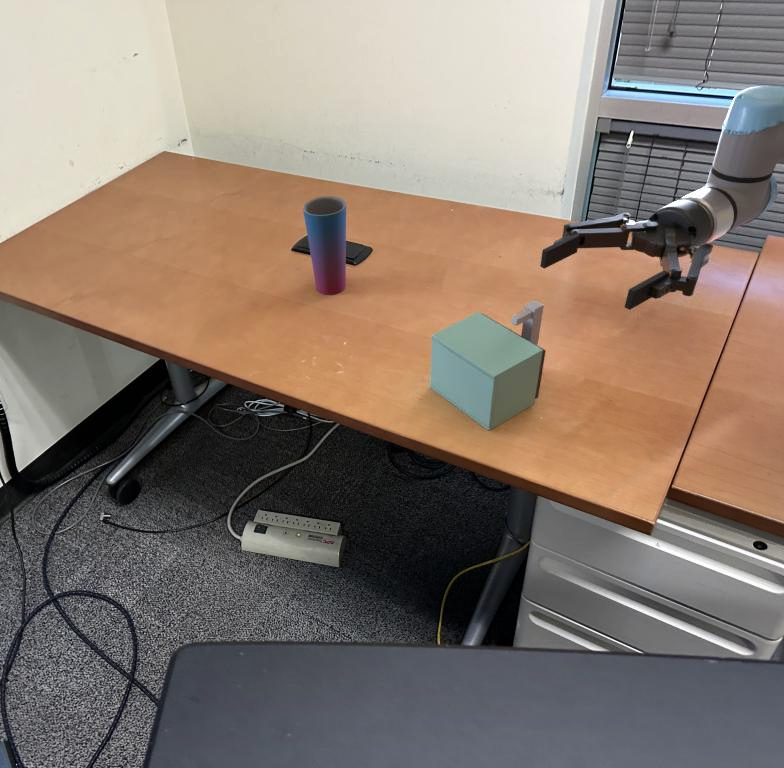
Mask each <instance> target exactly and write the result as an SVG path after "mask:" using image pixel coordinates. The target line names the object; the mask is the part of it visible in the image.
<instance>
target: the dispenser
mask: <svg viewBox="0 0 784 768" xmlns="http://www.w3.org/2000/svg"><path fill="white" fill-rule="evenodd" d="M483 314H484V313H483ZM483 314H481V312H479V311H477V312H474V313H473V314H470V315H469V316H467V317H464V318H462V319H461V320H458V321H457V322H454V323H453V324H451V325H449V326H447V327H445V328H443V329H441V330H439V331H437V332H435V333H433V334H431V353H430V355H431V356H430V358H431V359H430V384H429V386H430V387H429V388H430V389H432V390H433V391H434V392H436V393H437V394H438V395H440V396H441V397H442V398H444V399H445V400H446V401H448V402H449V403H450V404H452V405H453V406H455V407H456V408H457V409H458V410H460V411H461V412H462V413H464V414H465V415H467V417H469V418H471V420H473V421H475V422H476V423H478V424H479V425H480V426H481V427H482V428H484V429H486V431H491V430H493V429H494V428H496V427H498V426H499V425H502V424H503V423H504V422H506V421H508V420H510V419H512V418H513V417H515V416H517V415H518V414H520V413H522V412H523V411H525V410H527V409H528V408H530V407H533V406H534V405H535V401H536V399H535V395H536V389H537V383H538V377H539V370H540V364H541V358H542V352H543V350H542V349H543V348H542V347H541V348H542V349H541V348H539V347H540V346H539V347H537V346H535V345H534V344H532V343H530V342H529V341H527V340H525V339H524V338H522V337H520V336H521V335H520V336H518V335H517V334H518V333H517V334H515V333H516V332H515V333H513V332H514V331H513V330H512V331H513V332H512V331H510V330H511V329H510V330H508V329H509V328H508V329H506V328H505V327H506V326H505V327H503V326H504V325H503V326H501V325H502V324H501V323H500V324H501V325H500V324H498V323H499V322H498V323H496V322H497V321H496V320H495V321H496V322H495V321H493V320H494V319H493V320H491V319H492V318H491V319H489V318H488V317H489V316H488V317H486V316H487V315H486V316H484V315H485V314H484V315H483Z"/></svg>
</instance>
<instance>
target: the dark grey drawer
mask: <svg viewBox="0 0 784 768" xmlns="http://www.w3.org/2000/svg"><path fill="white" fill-rule="evenodd" d="M544 306H545V305H544V304H543V303H542V302H539V301H537V300H536V299H533V300H531V301H529V302H527V303H525V304H524V309H523V310H521V311H520V312H518V313H515V314H513V315H512V316H511V317H510V324H513V325H514V326H516V327H517V326H519V325H521V324H522V328H521V335H520V334H518V333H517V332H515V331H513V330H512V329H510V328H508V327H507V326H505V325H503V324H502V323H500V322H498V321H496V320H495V319H493V318H491V317H490V316H489V315H486V314H484V313H481V312H480V313H481V314H483V315H484V316H486V317H488V318H489V319H491V320H493V321H495V322H496V323H498V324H500V325H501V326H503V327H505V328H506V329H508V330H510V331H512V332H513V333H515V334H517V335H518V336H520V337H522V338H524V339H525V340H527V341H529V342H530V343H532V344H534V345H535V346H537V347H539V348H541V349H542V350H543V352H542V358H541V364H540V370H539V377H538V383H537V389H536V395H535V400H536V399H538V398H539V394H540V388H541V381H542V375H543V369H544V363H545V357H546V352H547V350H546V349H544V348H543V347H541V346H539V345H538V344H539V339H540V332H541V325H542V318H543V315H544Z"/></svg>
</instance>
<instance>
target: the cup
mask: <svg viewBox="0 0 784 768" xmlns="http://www.w3.org/2000/svg"><path fill="white" fill-rule="evenodd" d="M302 211H303V217H304V224H305V230H306V236H307V240H308V241H307V242H308V248H309V253H310V259H311V264H312V271H313V276H314V283H315V289H316V291H317V292H318V293H319V294H322V295H327V296H328V295H331V296H332V295H336V294H339V293H342V292H343V291H344V290H345V289H346V283H347V282H346V280H347V278H346V277H347V274H346V273H347V270H346V269H347V202H346V200H344V199H343V198H341V197H338V196H333V195H325V196H324V195H323V196H318V197H315V198H312V199H309V200H308V201H306V202H305V203H304V204H303V207H302Z"/></svg>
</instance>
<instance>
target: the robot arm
mask: <svg viewBox="0 0 784 768" xmlns="http://www.w3.org/2000/svg"><path fill="white" fill-rule="evenodd" d="M721 128H722V129H721V133H720V135H719V140H718V143H717V147H716V150H715V153H714V154H715V155H714V157H713V162H712V165H711V168H710V170H709V174H708V177H707V180H706V184H705V185H704V186H702V187H701V188H699V189H697V190H695V191H693V192H690V193H689V194H686V195H685V196H683V197H680V198H679V199H676V200H675V201H673V202H671V203H669V204H667V205H665V206H663V207H661V208H659V209H657V210H656V211H655V212H654V213H653V214H652V215H651V216H650V217H649V218H648V219H647V220H643V221H642V220H641V221H637V222H635V221H634V220H631V214H630V213H629V212H622V213H620V214H617V215H615V216H609V217H602V218H596V219H591V220H590V219H589V220H582V221H576V222H569V223H565V224H563V229H562V236H561V237H560V238H559V239H557V240H555V241H554V242H553V244H551V245H549V246H547V247H545V248H543V249H542V250H541V252H542V253H541V259H540V266H539V267H540V268H542V269H544V270H545V269H548V267H551V266H553V265H555V264H556V263H559V262H561V261H563V260H564V259H567V258H568V257H569V258H570V257H571V256H572V255H575V254H577V253H578V249H606V248H619V249H620V250H621V251H636V252H639V253H643V254H645V255H647V256H649V257H651V258H658V259H659V264H660V267H661V268H662V271H660V272H657V273H656V274H654V275H653V276H651V277H648V278H646V279H645V280H643V281H641V282H640V283H637V284H636V285H634V286H632V287H630V288H629V289H628V291H627V296H626V299H625V302H624V308H625V309H627V310H629V311H631V310H632V309H634V308H636V307H638V306H640V305H641V304H643V303H645V302H647V301H648V300H650V299H655V300H656V299H660V298H662V297H664V296H666V295H668V294H669V293H676V292H677V291H679V292H681V294H682V295H683V296H685V297H691V296H693V295H694V292H695V289H696V286H697V283H698V280H699V276H700V273H701V270H702V268H704V266H706V265H708V263H709V261H710V258H711V253H712V251H713V248H714V245H713V244H711V242H713V241H715V240H717V239H719V238H721V237H723V236H724V235H726V234H728V233H729V232H732V231H733V230H735V229H737V228H739V227H741V226H743V225H746V224H748V223H751V222H753V221H755V220H756V219H757V218H759V217H760V216H761V215H762V214H764V213H765V212H766V211H768V210H769V209H771V208H772V206H773V205H774V204H775V202H776V200H777V197H778V195H779V194H778V193H779V189H778V184H777V179H776V177H775V176H774V175H773V174H774V170H775V168H776V166H777V164H778V163H784V86H770V85H757V86H751V87H748V88H745V89H743V90H741V91H739V92H738V93H737V94H736V95H735V96H734V98H733V99H732V101H731V104H730V106H729V108H728V111H727V113H726V116H725V118H724V121H723V124H722V126H721ZM630 233H631V240H630V242H628V241H629V236H630ZM688 255H689V256H688ZM686 256H688V257H689V259H690V266H689V270H688V271H687V275H686V276H683V275H682V273H683V271H684V270H683V268H681V266H680V261H679V259H680V258H683V257H686Z"/></svg>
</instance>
